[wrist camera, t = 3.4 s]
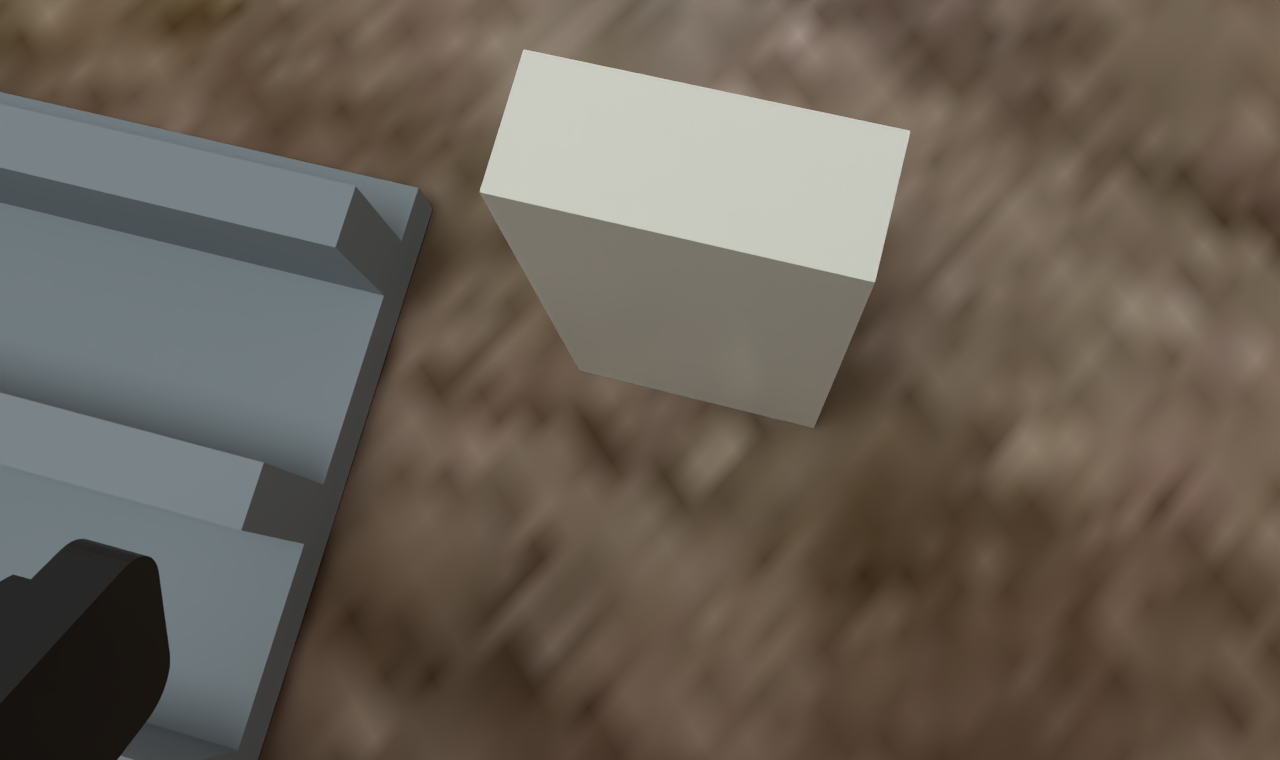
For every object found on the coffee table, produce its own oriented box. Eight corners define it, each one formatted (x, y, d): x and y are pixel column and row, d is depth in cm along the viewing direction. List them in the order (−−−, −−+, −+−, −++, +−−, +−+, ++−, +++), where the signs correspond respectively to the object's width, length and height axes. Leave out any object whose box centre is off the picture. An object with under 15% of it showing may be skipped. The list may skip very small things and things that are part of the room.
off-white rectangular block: (835, 336, 24) (910, 131, 14) (813, 428, 24) (874, 283, 14) (604, 281, 25) (523, 49, 15) (579, 370, 24) (479, 192, 14)
